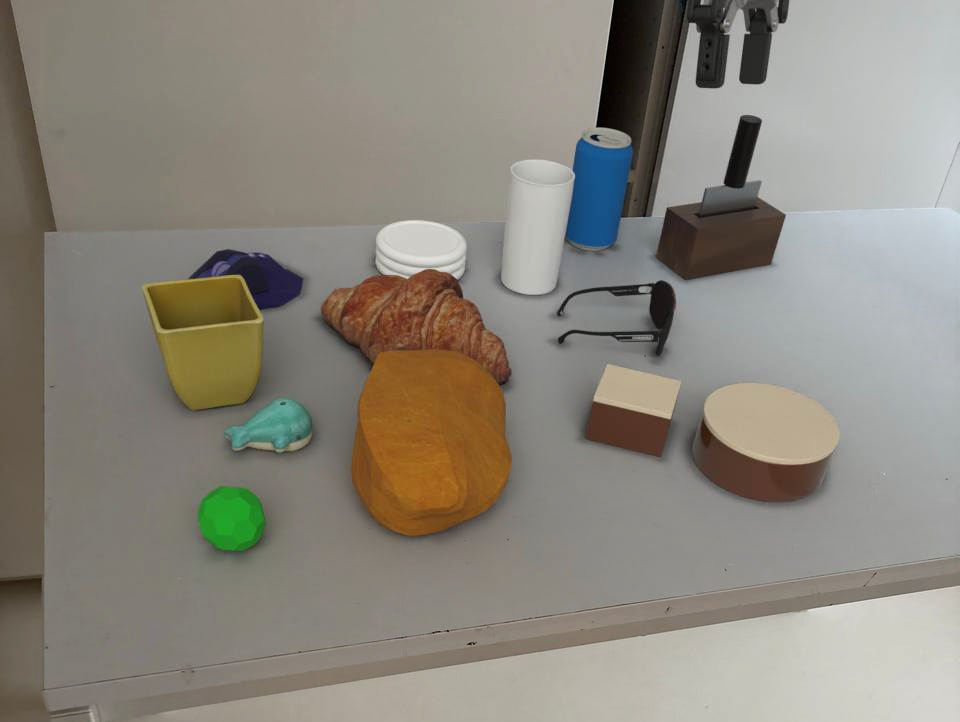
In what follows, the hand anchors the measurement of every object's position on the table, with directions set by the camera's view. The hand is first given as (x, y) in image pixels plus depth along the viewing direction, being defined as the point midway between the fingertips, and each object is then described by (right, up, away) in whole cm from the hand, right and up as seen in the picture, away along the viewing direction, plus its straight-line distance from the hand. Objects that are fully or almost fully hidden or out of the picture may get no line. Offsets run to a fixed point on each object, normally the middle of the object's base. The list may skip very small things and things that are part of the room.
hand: (731, 85), depth 84 cm
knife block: (+7, -1, +36) cm, 37 cm away
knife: (+7, -1, +36) cm, 37 cm away
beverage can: (-8, +2, +37) cm, 38 cm away
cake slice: (-7, -27, +9) cm, 29 cm away
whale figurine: (-39, -29, +3) cm, 49 cm away
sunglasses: (-7, -14, +22) cm, 27 cm away
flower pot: (-45, -24, +8) cm, 52 cm away
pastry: (-28, -18, +16) cm, 37 cm away
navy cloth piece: (-46, -10, +21) cm, 52 cm away
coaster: (-28, -5, +28) cm, 40 cm away
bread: (-24, -33, +2) cm, 41 cm away
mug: (-15, -5, +29) cm, 34 cm away
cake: (+4, -30, +8) cm, 31 cm away
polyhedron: (-40, -39, -6) cm, 56 cm away
